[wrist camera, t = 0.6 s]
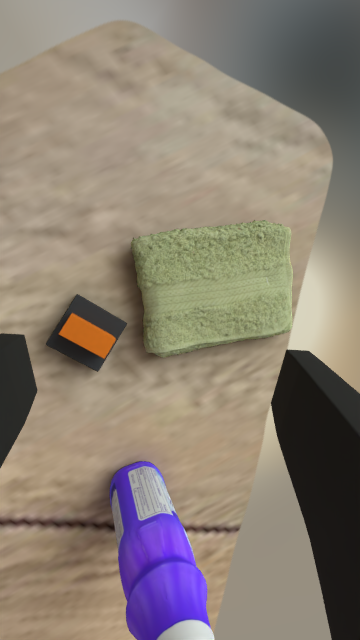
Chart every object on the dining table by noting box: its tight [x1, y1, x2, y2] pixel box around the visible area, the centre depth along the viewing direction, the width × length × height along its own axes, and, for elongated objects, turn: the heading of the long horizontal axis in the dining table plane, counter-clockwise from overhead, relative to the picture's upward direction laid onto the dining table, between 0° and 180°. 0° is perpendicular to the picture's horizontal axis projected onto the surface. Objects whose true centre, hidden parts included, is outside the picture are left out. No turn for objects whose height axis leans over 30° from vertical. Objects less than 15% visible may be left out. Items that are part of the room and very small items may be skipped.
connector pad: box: [46, 294, 127, 372], centre depth 29 cm, size 5×5×4 cm
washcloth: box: [131, 220, 293, 358], centre depth 33 cm, size 13×18×3 cm
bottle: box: [110, 461, 215, 640], centre depth 25 cm, size 7×6×17 cm
